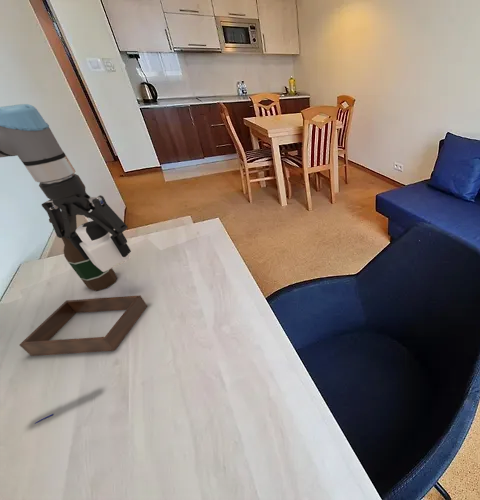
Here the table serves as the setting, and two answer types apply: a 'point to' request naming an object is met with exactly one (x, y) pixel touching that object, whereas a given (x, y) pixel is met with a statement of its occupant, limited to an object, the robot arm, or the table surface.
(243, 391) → the table surface
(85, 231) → the medicine bottle
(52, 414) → the ballpoint pen
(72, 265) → the beer bottle
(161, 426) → the table surface
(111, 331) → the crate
